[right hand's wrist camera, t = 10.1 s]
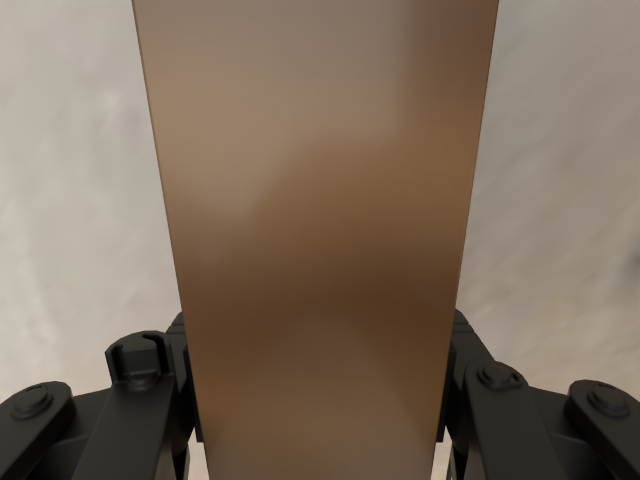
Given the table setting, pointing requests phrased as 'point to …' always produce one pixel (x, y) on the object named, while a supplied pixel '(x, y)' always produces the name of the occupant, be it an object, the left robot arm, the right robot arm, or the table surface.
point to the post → (317, 220)
